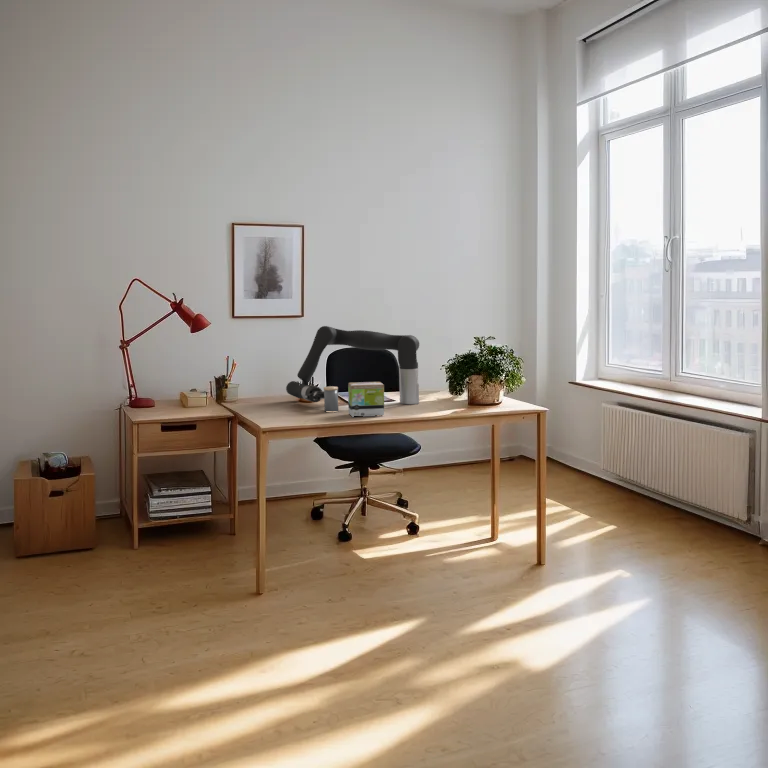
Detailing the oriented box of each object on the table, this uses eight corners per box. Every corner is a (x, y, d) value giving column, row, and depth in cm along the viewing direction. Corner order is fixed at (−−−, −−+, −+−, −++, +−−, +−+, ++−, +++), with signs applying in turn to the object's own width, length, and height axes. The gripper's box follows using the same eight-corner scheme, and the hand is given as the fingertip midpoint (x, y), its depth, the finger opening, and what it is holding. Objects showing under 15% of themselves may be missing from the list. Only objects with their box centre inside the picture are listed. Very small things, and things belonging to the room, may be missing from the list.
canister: (338, 410, 380) (337, 386, 378) (338, 412, 373) (337, 388, 372) (324, 410, 380) (323, 386, 378) (324, 412, 373) (323, 388, 371)
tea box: (351, 418, 359) (351, 385, 357) (348, 414, 369) (347, 382, 367) (384, 416, 362) (384, 383, 360) (380, 412, 372) (379, 380, 370)
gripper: (298, 387, 388) (314, 391, 374) (324, 384, 395) (340, 388, 382) (299, 402, 389) (314, 406, 375) (324, 399, 396) (341, 403, 383)
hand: (327, 397), depth 378 cm, fingers open, 8 cm apart
